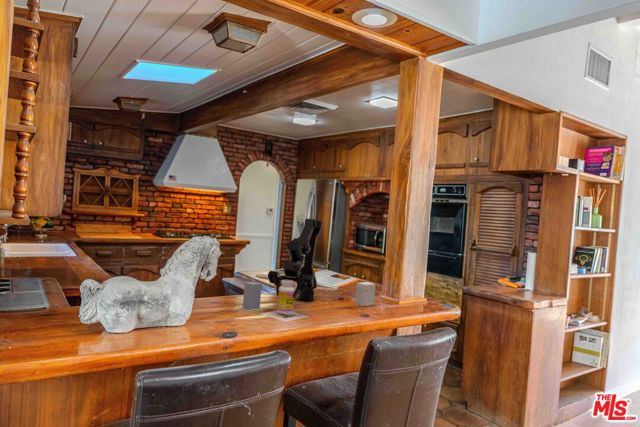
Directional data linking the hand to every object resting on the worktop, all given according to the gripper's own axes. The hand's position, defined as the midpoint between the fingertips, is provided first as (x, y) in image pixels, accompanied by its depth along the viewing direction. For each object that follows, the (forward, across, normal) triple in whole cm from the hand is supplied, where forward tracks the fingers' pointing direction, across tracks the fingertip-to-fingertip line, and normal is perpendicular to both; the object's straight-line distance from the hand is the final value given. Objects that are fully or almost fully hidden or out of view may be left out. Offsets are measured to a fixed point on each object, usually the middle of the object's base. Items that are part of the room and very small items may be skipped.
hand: (285, 296), depth 171 cm
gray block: (+2, -16, +10) cm, 19 cm away
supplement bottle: (+4, 0, +6) cm, 7 cm away
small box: (-23, +28, +36) cm, 51 cm away
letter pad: (+5, 0, +7) cm, 8 cm away
